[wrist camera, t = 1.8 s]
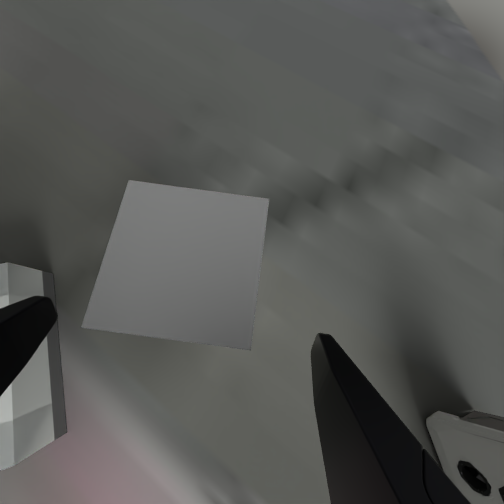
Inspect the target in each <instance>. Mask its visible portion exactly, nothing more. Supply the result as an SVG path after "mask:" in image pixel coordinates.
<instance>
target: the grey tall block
mask: <svg viewBox="0 0 504 504" xmlns="http://www.w3.org/2000/svg"><path fill="white" fill-rule="evenodd" d="M268 204H269V199H266V198H258V197H251V196H243V195H236V194H228V193H221V192H214V191H206V190H199V189H191V188H184V187H177V186H169V185H162V184H154V183H147V182H140V181H132V180H129V181H128V184H127V187H126V190H125V193H124V196H123V199H122V203H121V206H120V209H119V212H118V215H117V218H116V221H115V224H114V227H113V230H112V233H111V236H110V240H109V243H108V246H107V249H106V252H105V255H104V258H103V261H102V264H101V267H100V270H99V274H98V277H97V280H96V283H95V286H94V289H93V292H92V295H91V298H90V301H89V304H88V308H87V311H86V314H85V317H84V320H83V323H82V326H81V328H88V329H95V330H103V331H110V332H118V333H125V334H132V335H140V336H147V337H155V338H162V339H170V340H177V341H185V342H192V343H199V344H207V345H214V346H222V347H229V348H237V349H244V350H251V345H252V336H253V328H254V320H255V311H256V303H257V295H258V287H259V278H260V270H261V262H262V253H263V245H264V237H265V229H266V220H267V212H268Z"/></svg>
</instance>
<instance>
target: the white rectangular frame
mask: <svg viewBox="0 0 504 504" xmlns="http://www.w3.org/2000/svg"><path fill="white" fill-rule="evenodd" d="M32 296H46V297H50V298H51V299H52V301H53V304H54V307H55V309H56V301H55V290H54V279H53V273H49V272H45V271H41V270H37V269H33V268H29V267H25V266H21V265H17V264H13V263H9V262H6V263H2V264H0V308H3V307H5V306H8V305H11V304H13V303H16V302H19V301H21V300H24V299H27V298H29V297H32ZM65 433H67V427H66V416H65V404H64V393H63V382H62V370H61V359H60V347H59V336H58V324H57V321H56V323H55V324H54V326H53V327H52V328H51V330H50V331H49V333H48V334H47V336H46V337H45V339H44V340H43V342H42V343H41V344H40V346H39V347H38V349H37V350H36V352H35V353H34V355H33V356H32V358H31V359H30V360H29V362H28V363H27V364H26V366H25V367H24V368H23V370H22V371H21V372H20V373H19V375H18V376H17V377H16V378H15V379H14V381H13V382H12V383H11V384H10V386H9V387H8V388H7V389H6V390H5V392H4V393H3V394H2V395H1V396H0V471H1V470H4V469H6V468H9V467H12V466H14V465H16V464H18V463H19V462H21V461H22V460H24V459H26V458H27V457H29V456H30V455H32V454H33V453H35V452H37V451H38V450H40V449H41V448H43V447H45V446H46V445H48V444H49V443H51V442H52V441H54V440H56V439H57V438H59V437H60V436H62V435H63V434H65Z"/></svg>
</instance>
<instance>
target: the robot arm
mask: <svg viewBox="0 0 504 504" xmlns="http://www.w3.org/2000/svg"><path fill="white" fill-rule="evenodd" d="M57 318H58V315H57V312H56V309H55V307H54V304H53V301H52V299H51V298H50V297H46V296H32V297H29V298H27V299H24V300H21V301H19V302H16V303H13V304H11V305H8V306H5V307H3V308H0V396H1V395H2V394H3V393H4V392H5V390H6V389H7V388H8V387H9V386H10V384H11V383H12V382H13V381H14V379H15V378H16V377H17V376H18V375H19V373H20V372H21V371H22V370H23V368H24V367H25V366H26V364H27V363H28V362H29V360H30V359H31V358H32V356H33V355H34V353H35V352H36V350H37V349H38V347H39V346H40V344H41V343H42V342H43V340H44V339H45V337H46V336H47V334H48V333H49V331H50V330H51V328H52V327H53V326H54V324H55V323H56V321H57ZM311 366H312V381H313V396H314V406H315V413H316V419H317V424H318V430H319V436H320V442H321V448H322V454H323V460H324V465H325V471H326V477H327V483H328V489H329V495H330V501H331V504H471V503H470V502H469V501H468V499H467V498H466V497H465V496H464V495H463V494H462V493H461V491H460V490H459V489H458V488H457V487H456V486H455V484H454V483H453V482H452V481H451V480H450V478H449V477H448V476H447V475H446V474H445V473H444V471H443V470H442V469H441V468H440V467H439V466H438V464H437V463H436V462H435V461H434V459H433V458H432V457H431V456H430V455H429V453H428V452H427V451H426V450H425V449H423V448H422V445H421V444H420V443H419V441H418V440H417V439H416V438H415V437H414V435H413V434H412V433H411V432H410V430H409V429H408V428H407V427H406V426H405V424H404V423H403V422H402V421H401V420H400V418H399V417H398V416H397V415H396V414H395V412H394V411H393V410H392V409H391V407H390V406H389V405H388V404H387V403H386V401H385V400H384V399H383V398H382V397H381V395H380V394H379V393H378V392H377V390H376V389H375V388H374V387H373V386H372V384H371V383H370V382H369V381H368V380H367V378H366V377H365V376H364V375H363V373H362V372H361V371H360V370H359V369H358V367H357V366H356V365H355V364H354V363H353V361H352V360H351V359H350V358H349V356H348V355H347V354H346V353H345V352H344V350H343V349H342V348H341V347H340V346H339V344H338V343H337V342H336V341H335V339H334V338H333V337H332V336H331V335H329V334H323V333H318V334H317V335H316V338H315V341H314V344H313V346H312V349H311Z"/></svg>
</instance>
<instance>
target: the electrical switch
mask: <svg viewBox="0 0 504 504" xmlns="http://www.w3.org/2000/svg"><path fill="white" fill-rule="evenodd" d="M426 425H427V428H428V431H429V433H430V436H431V439H432V441H433V444H434V446H435V449H436V452H437V454H438V457H439V460H440V462H441V465H442V468H443V470H444V473H445V474H446V475H447V476H448V477H449V478H450V480H451V481H452V482H453V483H454V484H455V486H456V487H457V488H458V489H459V490H460V491H461V493H462V494H463V495H464V496H465V497H466V498H467V499H468V501H469V502H470V503H471V504H504V417H500V416H495V415H491V414H487V413H483V412H478V411H473V412H471V413H470V414H468V415H466V416H465V417H462V418H459V417H458V416H455V415H452V414H448V413H445V412H441V411H437V412H435V413H433V414H432V415H431V416H429V417H428V418H427V420H426Z"/></svg>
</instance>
